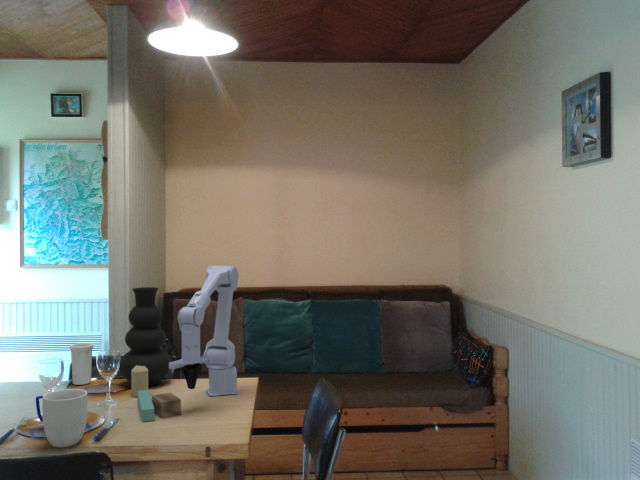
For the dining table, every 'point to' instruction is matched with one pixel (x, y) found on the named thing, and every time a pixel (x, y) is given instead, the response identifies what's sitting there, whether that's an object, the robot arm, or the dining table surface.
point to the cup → (81, 362)
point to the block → (166, 405)
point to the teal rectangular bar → (145, 406)
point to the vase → (145, 338)
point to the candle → (139, 380)
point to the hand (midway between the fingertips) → (191, 388)
